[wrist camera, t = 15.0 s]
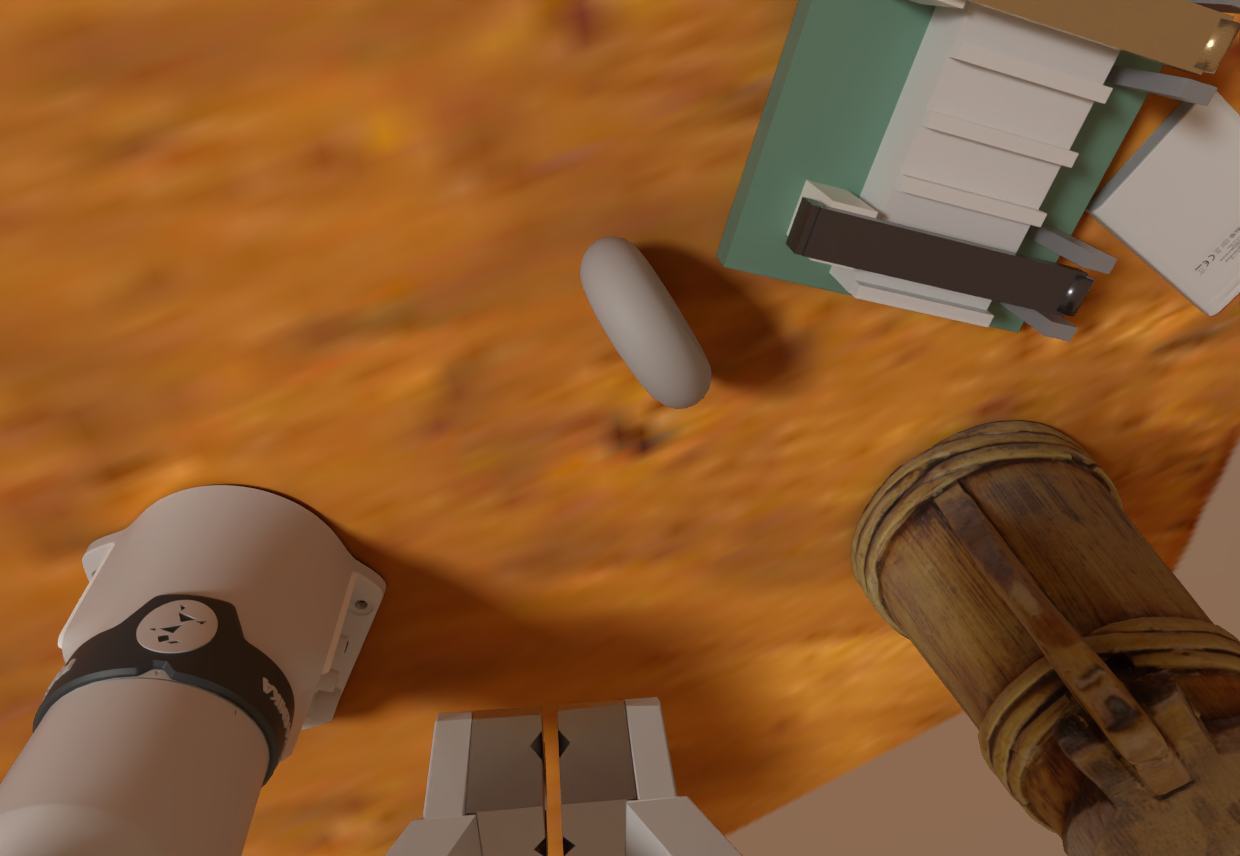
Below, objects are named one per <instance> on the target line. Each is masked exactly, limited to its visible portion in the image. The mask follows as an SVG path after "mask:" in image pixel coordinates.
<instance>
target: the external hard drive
mask: <svg viewBox="0 0 1240 856" xmlns="http://www.w3.org/2000/svg"><path fill="white" fill-rule="evenodd" d="M1208 85H1210V84H1208ZM1211 86H1212V85H1211ZM1085 211H1086V212H1087V213H1088V214H1089V215H1091V216H1092V217H1093V218H1094V219H1095V220H1096V221H1097V222H1099V223H1100V224H1101V225H1102V226H1103V227H1104V228H1106V229H1107V230H1108V231H1109V232H1110V233H1111V234H1113V235H1114V236H1115V237H1116V238H1117V239H1118V240H1120V241H1121V242H1122V243H1123V244H1124V245H1125V246H1126V247H1128V248H1129V249H1130V250H1131V251H1132V252H1133V253H1134V254H1136V255H1137V256H1138V257H1139V258H1140V259H1142V260H1143V261H1144V262H1145V263H1146V264H1147V265H1148V266H1149V267H1151V268H1152V269H1153V270H1154V271H1155V272H1156V273H1158V274H1159V275H1160V276H1161V277H1162V278H1163V279H1165V280H1166V281H1167V282H1168V283H1169V284H1170V285H1171V286H1173V287H1174V288H1175V289H1176V290H1177V291H1178V292H1180V293H1181V294H1182V295H1183V296H1184V297H1185V298H1186V299H1188V300H1189V301H1190V302H1191V303H1192V304H1193V305H1194V306H1196V307H1197V308H1198V309H1199V310H1200V311H1201V312H1203V313H1205V314H1207V315H1209V316H1213V315H1215V314H1216V313H1218V312H1219V311H1221V310H1222V309H1223V308H1224V307H1225V306H1226V305H1227V304H1228V303H1229V302H1230V301H1231V300H1232V299H1233V298H1234V297H1235V296H1236V295H1237V294H1238V293H1240V115H1239V114H1238V113H1237V112H1236V111H1235V110H1234V109H1233V108H1232V107H1231V106H1230V105H1229V104H1228V102H1227V101H1226V100H1225V99H1224V98H1223V97H1222V96H1221V95H1220V94H1219V93H1218V92H1217V91H1216V92H1215V94H1214V96H1213V97H1212V99H1211V101H1210V102H1209V104H1208V106H1204V105H1200V104H1195V103H1190V102H1185V101H1182V102H1181V103H1180V104H1179V105H1178V106H1177V107H1176V109H1175V110H1174V111H1173V112H1172V113H1171V114H1170V115H1169V116H1168V117H1167V118H1166V119H1165V121H1164V122H1163V123H1162V124H1161V125H1160V126H1159V127H1158V128H1157V129H1156V130H1155V131H1154V133H1153V134H1152V135H1151V136H1150V137H1149V138H1148V139H1147V140H1146V141H1145V142H1144V143H1143V145H1142V146H1141V147H1140V148H1139V149H1138V150H1137V151H1136V152H1135V153H1134V154H1133V155H1132V157H1131V158H1130V159H1129V160H1128V161H1127V162H1126V163H1125V164H1124V165H1123V166H1122V167H1121V169H1120V170H1119V171H1118V172H1117V173H1116V174H1115V175H1114V176H1113V177H1112V178H1111V179H1110V180H1109V182H1108V183H1107V184H1106V185H1105V186H1104V187H1103V188H1102V189H1101V190H1100V191H1099V192H1098V193H1097V195H1096V196H1095V197H1094V198H1093V199H1092V200H1091V201H1090V202H1089V203H1088V205H1087V207H1086V209H1085Z"/></svg>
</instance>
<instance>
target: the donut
mask: <svg viewBox="0 0 1240 856" xmlns="http://www.w3.org/2000/svg"><path fill="white" fill-rule="evenodd" d="M580 276H581V283H582V286H583V289H584V292H585V294H586V296H587V298H588V301H589V303H590V305H591V307H592V309H593V311H594V313H595V315H596V316H597V318H598V320H599V322H600V324H601V325H602V327H603V329H604V331H605V332H606V334H607V336H608V337H609V339H610V341H611V342H612V344H613V345H614V347H615V349H616V350H617V352H618V353H619V355H620V356H621V358H622V359H623V360H624V362H625V363H626V365H627V366H628V368H629V369H630V370H631V372H632V373H633V374H634V376H635V377H636V378H637V380H638V381H639V382H640V383H641V385H642V386H643V387H644V388H645V389H646V391H647V392H648V393H649V394H650V395H651V396H652V397H653V398H654V399H656V400H657V401H659V402H660V403H662V404H664V405H665V406H667V407H671V408H675V409H682V408H688V407H690V406H693V405H695V404H697V403H698V402H699V401H700V400H701V399H703V398H704V396H705V394H706V393H707V391H708V390H709V387H710V383H711V379H712V374H711V367H710V365H709V362H708V360H707V358H706V355H705V353H704V351H703V349H702V347H701V346H700V344H699V342H698V340H697V338H696V337H695V335H694V333H693V331H692V330H691V328H690V326H689V325H688V323H687V321H686V320H685V318H684V316H683V315H682V313H681V311H680V310H679V308H678V307H677V305H676V303H675V302H674V300H673V298H672V297H671V295H670V294H669V292H668V291H667V289H666V288H665V286H664V284H663V283H662V281H661V280H660V278H659V277H658V275H657V274H656V272H655V271H654V269H653V268H652V266H651V265H650V264H649V262H648V261H647V259H646V258H645V257H644V256H643V254H642V253H641V252H640V251H639V249H638V248H637V247H636V246H635V245H634V244H632V243H631V242H629V241H627V240H626V239H624V238H619V237H615V236H613V237H604V238H602V239H600V240H597V241H595V242H594V243H593V244H592V245H591V246H590V247H589V248H588V249H587V250H586V252H585V254H584V256H583V258H582V263H581V268H580Z"/></svg>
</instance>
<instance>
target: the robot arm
mask: <svg viewBox="0 0 1240 856" xmlns="http://www.w3.org/2000/svg"><path fill="white" fill-rule="evenodd" d="M82 563H83V567H84V570H85V572H86V575H87V577H88V580H89V584H88V586H87V588H86V589H85V591H84V593H83V594H82V596H81V598H80V600H79V601H78V603H77V605H76V607H75V608H74V610H73V612H72V614H71V615H70V617H69V619H68V621H67V622H66V624H65V626H64V628H63V630H62V631H61V633H60V636H59V639H58V647H60V648H61V649H62V653H63V657H64V660H65V662H66V665H65V666H64V667H63V668H62V669H61V671H59V672H58V673H57V675H56V676H55V678H54V679H53V681H52V683H51V684H50V686H49V687H48V690H47V691H46V693H45V696H44V698H43V702H42V704H41V705H40V707H39V709H38V711H37V713H36V715H35V719H34V722H33V734H32V736H31V738H30V739H29V741H28V742H27V744H26V745H25V747H24V748H23V750H22V751H21V753H20V755H19V756H18V758H17V759H16V761H15V762H14V764H13V765H12V767H11V769H10V770H9V772H8V773H7V775H6V776H5V778H4V779H3V781H2V782H1V784H0V856H242V852H243V849H244V845H245V841H246V838H247V834H248V831H249V827H250V824H251V820H252V817H253V814H254V810H255V807H256V804H257V800H258V797H259V794H260V791H261V788H262V787H263V786H264V785H265V784H266V783H267V781H268V780H269V779H270V777H271V776H272V774H273V772H274V770H275V769H276V767H277V766H278V764H279V762H281V761H283V760H285V759H286V758H288V757H289V756H290V755H291V754H292V752H293V749H294V747H295V744H296V741H297V739H298V736H299V733H300V731H301V730H302V729H308V728H312V727H315V726H318V725H322V724H324V723H328V722H332V719H333V716H334V713H335V710H336V707H337V704H338V702H339V699H340V697H341V695H342V692H343V690H344V688H345V685H346V683H347V681H348V678H349V676H350V674H351V671H352V669H353V667H354V664H355V662H356V660H357V657H358V655H359V653H360V650H361V648H362V646H363V643H364V641H365V639H366V636H367V634H368V631H369V629H370V627H371V624H372V622H373V620H374V617H375V615H376V613H377V610H378V608H379V606H380V603H381V601H382V599H383V596H384V594H385V591H386V583H385V581H384V580H383V578H382V577H381V576H379V575H378V574H377V573H376V572H374V571H373V570H372V569H370V568H368V567H367V566H365V565H364V564H362V563H361V562H359V561H357V560H356V559H355V558H354V557H353V556H352V555H351V554H350V553H349V552H348V551H347V549H346V548H345V546H344V545H343V544H342V542H341V541H340V539H339V538H338V537H337V535H336V534H335V533H334V532H333V531H332V530H331V529H330V527H329V526H327V525H326V524H325V523H324V522H323V521H322V520H321V519H320V518H318V517H317V516H316V515H314V514H313V513H312V512H310V511H309V510H307V509H305V508H304V507H302V506H300V505H298V504H297V503H295V502H293V501H290V500H288V499H286V498H284V497H281V496H279V495H276V494H273V493H270V492H266V491H263V490H258V489H254V488H248V487H242V486H231V485H212V486H201V487H195V488H190V489H186V490H182V491H179V492H176V493H173V494H171V495H168V496H166V497H164V498H162V499H160V500H159V501H157V502H155V503H154V504H152V505H151V506H150V507H148V508H147V509H146V510H145V511H144V512H143V513H142V514H141V515H140V516H139V517H138V518H137V519H136V520H135V521H134V522H133V523H132V524H131V525H130V526H129V527H127V528H126V529H124V530H122V531H119V532H116V533H113V534H110V535H108V536H105V537H102V538H100V539H98V540H96V541H94V542H93V543H91V544H90V545H89V547H88V548H87V550H86V552H85V554H84V556H83V558H82ZM360 600H362V601H365V602H360ZM557 708H558V740H559V767H560V790H561V813H562V835H563V853H564V856H742V855H741V854H740V853H739V852H738V851H737V850H736V848H735V847H734V846H733V845H732V844H731V843H730V842H729V841H728V840H727V838H726V837H725V836H724V835H723V834H722V833H721V832H720V831H719V830H718V829H717V828H716V826H715V825H714V824H713V823H712V822H711V821H710V820H709V819H708V818H707V817H706V816H705V814H704V813H703V812H702V811H701V810H700V809H699V808H698V807H697V806H696V805H695V804H694V802H693V801H692V800H691V799H690V798H689V797H688V796H677V791H676V786H675V780H674V775H673V769H672V763H671V758H670V752H669V747H668V741H667V735H666V730H665V724H664V719H663V713H662V707H661V702H660V701H659V699H658V697H648V698H635V699H625V700H624V701H623V699H614V700H603V701H592V702H581V703H570V704H559V705H557ZM546 811H547V782H546V758H545V743H544V732H543V715H542V707H536V708H517V709H497V710H477V711H463V712H448V713H438V716H437V719H436V722H435V726H434V734H433V742H432V750H431V758H430V766H429V773H428V781H427V789H426V797H425V805H424V813H423V819H418V820H412V821H411V822H410V824H409V825H408V826H407V827H406V829H405V830H404V831H403V833H402V834H401V835H400V836H399V838H398V839H397V840H396V842H395V843H394V844H393V846H392V847H391V848H390V849H389V851H388V852H387V853H386V855H385V856H548V833H547V816H546Z"/></svg>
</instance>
